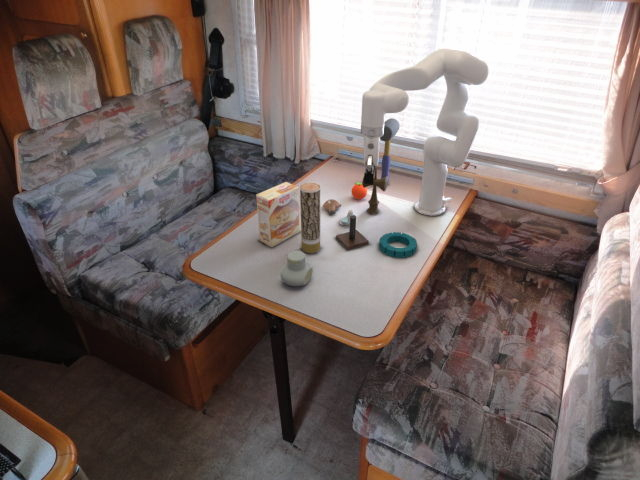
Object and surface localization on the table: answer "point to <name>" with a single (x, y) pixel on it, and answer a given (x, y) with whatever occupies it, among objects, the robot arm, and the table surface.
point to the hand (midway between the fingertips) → (369, 177)
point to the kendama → (375, 192)
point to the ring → (398, 251)
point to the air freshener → (296, 269)
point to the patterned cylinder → (310, 217)
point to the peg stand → (352, 236)
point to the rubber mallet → (388, 143)
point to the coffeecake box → (278, 213)
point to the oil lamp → (331, 206)
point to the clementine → (359, 191)
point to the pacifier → (346, 219)
